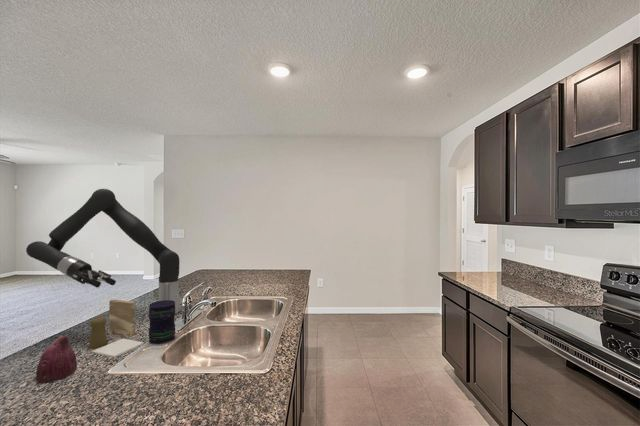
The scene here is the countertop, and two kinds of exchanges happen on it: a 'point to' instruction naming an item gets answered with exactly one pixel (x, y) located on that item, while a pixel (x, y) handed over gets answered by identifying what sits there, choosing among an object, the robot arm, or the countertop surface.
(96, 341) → the cork
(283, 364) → the countertop surface
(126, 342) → the coaster
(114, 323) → the maple board
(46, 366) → the vegetable
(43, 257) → the robot arm
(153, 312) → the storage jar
